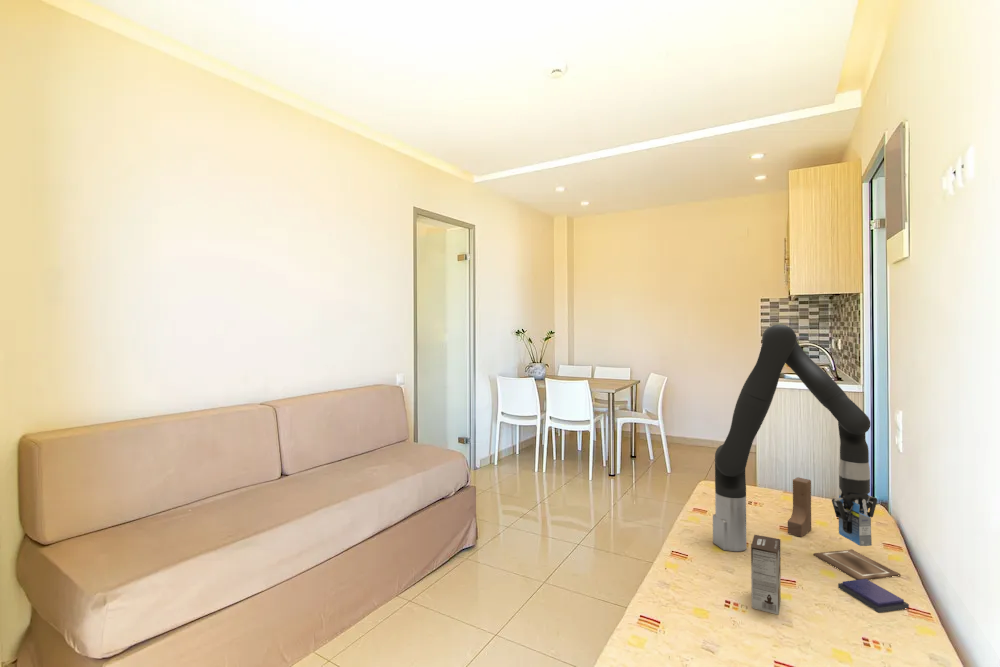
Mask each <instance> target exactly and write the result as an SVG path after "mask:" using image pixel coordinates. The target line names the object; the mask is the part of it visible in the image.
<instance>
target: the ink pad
mask: <svg viewBox="0 0 1000 667" xmlns="http://www.w3.org/2000/svg"><path fill="white" fill-rule="evenodd" d="M837 588H838V589H839V588H840V590H841V591H843V592H844V593H846V594H848V595H849V596H851V597H852V598H854V599H856V600H857V601H859V602H861V603H862V604H864V605H865V606H867V607H869V608H870V609H872V610H874V611H875V612H877V613H879V614H880V613H886V612H887V613H888V612H893V611H903V610H906V609H905V608H910V604H909V603H907V602H906V601H905V600H904V599H903V598H901V597H899V596H898V595H895V594H894V593H892V592H891V591H889V590H887V589H885V588H883V587H882V586H880V585H878V584H876V583H874V582H873V581H871V580H867V579H861V580H856V579H852V580H845V581H842V582H839V583H838V584H837ZM902 609H903V610H902Z"/></svg>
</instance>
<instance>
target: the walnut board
mask: <svg viewBox="0 0 1000 667" xmlns="http://www.w3.org/2000/svg"><path fill="white" fill-rule="evenodd" d="M813 556H814V557H816V558H817V557H818V558H817V559H819V560H821V561H822V562H825V563H826V562H827V563H826V564H828V563H829V564H828V565H830V564H831V565H832V566H831V565H830V566H831V567H833V566H834V567H833V568H835V567H836V568H835V569H837V568H838V569H839V570H838V569H837V570H838V571H840V570H841V571H840V572H842V573H844V574H845V573H846V574H845V575H847V576H849V577H851V578H852V579H853V580H861V579H867V580H869V581H871V579H872V580H878V579H887V578H886V577H889V578H893V577H892V576H898V575H900V576H901V573H900V572H899V573H898V572H897V571H895V570H893V569H892V568H889V567H888V566H885V565H883V564H881V563H880V562H877V561H876V560H874V559H871V558H870V557H867V555H863V554H862V553H860V552H859V551H855V550H854V549H842V550H833V551H824V552H821V551H820V552H813ZM898 577H899V576H898Z"/></svg>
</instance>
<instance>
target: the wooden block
mask: <svg viewBox="0 0 1000 667" xmlns="http://www.w3.org/2000/svg"><path fill="white" fill-rule="evenodd" d="M811 531H812V480H811V479H807V478H802V477H800V476H798V477H796V478H794V479H792V512H791V516H790V517H789V519H788V520H787V533H788V534H790V535H792V536H797V537H800V538H802V537H803V536H806V535H807V534H809V532H811Z"/></svg>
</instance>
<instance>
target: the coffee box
mask: <svg viewBox="0 0 1000 667" xmlns="http://www.w3.org/2000/svg"><path fill="white" fill-rule="evenodd" d="M750 556H751V557H750V564H751V566H750V567H751V570H750V572H751V573H750V575H751V577H750V578H751V582H750V583H751V587H750V588H751V608H752V609H756V610H758V611H763V612H766V613H771V614H774V615H777V616H779V614H780V607H781V599H782V597H781V595H782V593H781V589H782V588H781V586H782V585H781V583H782V582H781V580H782V579H781V578H782V576H781V574H782V573H781V539H780V538H776V537H771V536H765V535H759V534H754V535H753V538H752V543H751V546H750Z"/></svg>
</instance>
